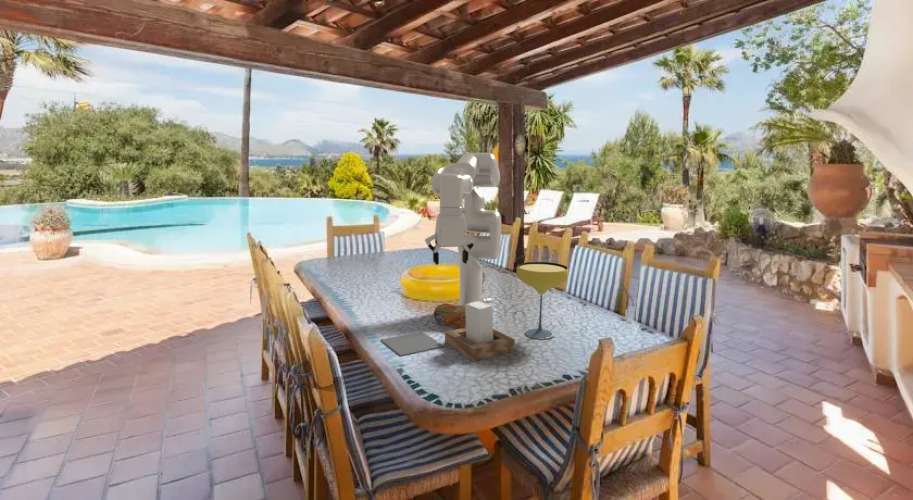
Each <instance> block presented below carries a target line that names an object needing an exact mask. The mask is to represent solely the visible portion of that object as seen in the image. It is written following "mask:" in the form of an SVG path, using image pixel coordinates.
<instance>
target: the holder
mask: <svg viewBox="0 0 913 500" xmlns="http://www.w3.org/2000/svg"><path fill="white" fill-rule="evenodd" d="M444 344H446V345H447V346H449V347H450V348H452V349H454V350H455V351H457V352H459V353H460V354H462V355H463V356H465V357H467V358H468V359H470V360H471V361H473V362H475V361H480V360H485V359H488V358H493V357H496V356H501V355H504V353H505V354H508V352H509V353H512V352H511V351H513V352H515V344H516V340H515V338H512V337H510V336H508V335H507V334H504V333H503V332H501V331H499V330H496V329H494V328H493V341H488V342H484V343H479V344H476V343H474V342H472V341H470V340H469V339H467V338H466V327H465V328H458V329H452V330H447V331H444ZM500 354H501V355H500Z"/></svg>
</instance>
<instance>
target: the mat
mask: <svg viewBox="0 0 913 500" xmlns="http://www.w3.org/2000/svg"><path fill="white" fill-rule="evenodd" d="M380 342H382V343H383V344H384V345H385V346H387V347H388V348H389V349H391V350H392V351H393V352H395V354H397V355H398V356H400V357H403V356H408V355H413V354H417V353H422V352H423V353H424V352H426V351H432V350H436V349H441V348H444V347H445V345H444V344H443V343H441V342H439V341H438V340H436V339H434V338H433V337H432V336H430V335H428V334H426V332H423V331H417V332H413V333H408V334H404V335H403V334H402V335H398V336H392V337H388V338H383V339H380Z"/></svg>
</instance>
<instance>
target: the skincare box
mask: <svg viewBox="0 0 913 500" xmlns="http://www.w3.org/2000/svg"><path fill="white" fill-rule="evenodd" d="M465 312H466V327H465V328H466V338H467V339H469V340H470V341H472V342H474V343H476V344H479V343H484V342H488V341H493V329H494V326H493V325H494V321H493V317H494V316H493V305H491V304H489V303H486V304H485V303H482V302H479V301H477V302H472V303H468V304H465Z"/></svg>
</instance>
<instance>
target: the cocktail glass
mask: <svg viewBox="0 0 913 500" xmlns="http://www.w3.org/2000/svg"><path fill="white" fill-rule="evenodd" d="M516 277H517V278H518V279H519V280H520V281H521V282H522V283H524V284H526V285H527V286H529V287H531V288H533V289H534V290H535V291H536V293H538V295H540V297H539V299H540V302H539V319H538V327H537V328H530V330H529V329H527V330H528V331H527V330H526V335H527V336H526V335H525V336H526V337H528V336H530V337H533V338H546V337H550V336H551V335H552V333H551V332H550V331H551V330H550V331H548V330H549V329H546V330H545V328H543V326H542V311H543V309H542V308H543V307H542V306H543V295H545V294H546V293H547V292H548V291H549V290H551V289H552V288H555V287H557V286H560V285H562V284H564V283H565V282H566V281H567V280H568V277H569V267H568V266H566V265H564V264H561V263H556V262H548V261H530V262H529V261H528V262H523V263H519V264H518V265H517V266H516ZM530 337H529V338H530ZM533 338H532V339H533Z"/></svg>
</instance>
